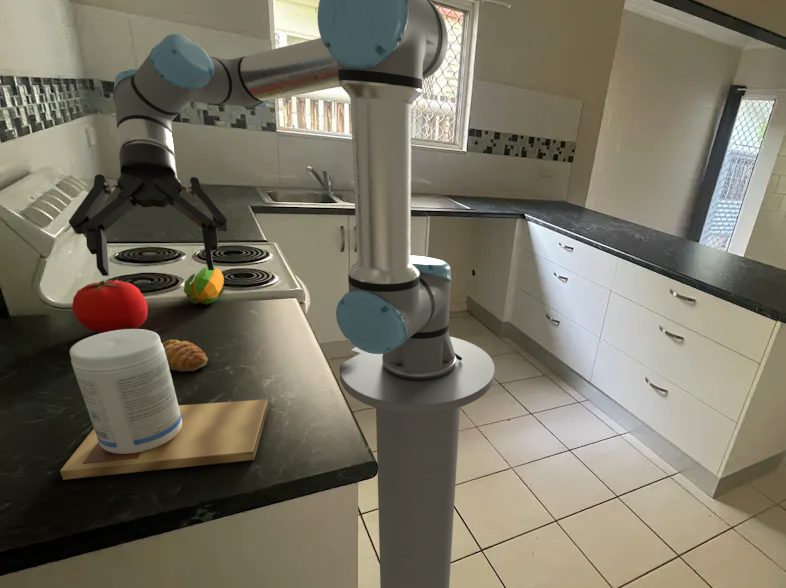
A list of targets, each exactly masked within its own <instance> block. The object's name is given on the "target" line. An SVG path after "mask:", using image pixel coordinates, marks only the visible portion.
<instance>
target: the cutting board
mask: <svg viewBox="0 0 786 588" xmlns="http://www.w3.org/2000/svg"><path fill="white" fill-rule="evenodd" d="M178 406H179V410H180V414H181V418H182V427H181V429H180V431H179V432H178V433H177V434H176V435H175V436H174V437H173V438H172V439H171V440H169V441H168V442H166V443H164V444H162V445H160V446H158V447H156V448H153V449H149V450H146V451H142V452H138V453H132V454H117V453H112V452H108V451H106V450H104V449H103V448H102V447H101V446H100V444H99V441H98V438H97V435H96V432H95V430H94V428H93V429H91V431H90V432H89V434H88V435H87V436H86V437H85V438H84V440H83V441H82V442H81V444H80V445H79V446H78V448H77V449H76V450H75V451H74V452H73V454H72V455H71V456H70V458H69V459H68V460H67V461H66V462H65V464H64V465H63V466H62V467H61V469H60V470H59V472H60V475H61V478H62V480H63V481H65V480H74V479H76V480H77V479H84V478H92V477H93V478H94V477H103V476H112V475H114V476H115V475H121V474H123V475H124V474H132V473H143V472H151V471H160V470H171V469H179V468H189V467H198V466H200V467H201V466H208V465H219V464H227V463H236V462H245V461H247V462H248V461H255V458H256V454H257V452H258V447H259V443H260V439H261V436H262V432H263V429H264V425H265V421H266V417H267V414H268V410H269V407H270V406H269V399H264V398H263V399H251V400H238V401H223V402H208V403H196V404H195V403H193V404H182V405H180V404H178Z"/></svg>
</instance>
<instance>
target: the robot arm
mask: <svg viewBox="0 0 786 588" xmlns="http://www.w3.org/2000/svg"><path fill="white" fill-rule="evenodd" d="M317 27H318V32H319V36H320V37H319V38H314V39H309V40H307V41H302V42H298V43H294V44H290V45H285V46H281V47H277V48H274V49H269V50H265V51H260V52H257V53H256V52H255V53H252V54H249V55H246V56H240V57H235V58H230V59H229V58H227V59H226V58H220V57H215V56H210V55H209V54H208V53H207V52H206V51H205V49H204V48H203V47H202V46H201V45H200V44H198V43H197V42H195V41H194V40H190V39H189V38H188V37H187V36H185V35H183V34H179V33H172V34H167V35H166V36H165V37H164V38H163V39H162V40H161V41H160V42H159V43H158V44H156V45H155V46H154V47H153V48H151V51H150V53H149V54H148V56H147V57H146V59H144V61H143V62H142V64H140V66H138V68H137V69H136V68H135V69H134V68H132V69H128V70H125V71H120V72H118V74H117V75H116V76H115V78H114V81H113V82H114V83H113V90H112V95H113V96H112V97H113V102H114V110H115V119H116V130H117V133H116V135H117V136H116V137H117V148H118V152H119V153H118V158H119V159H118V160H119V172H120V176H119V177H118V178H117V179H114V178H113V179H112V178H106V177H105V176H104V175H103V174H101V173H100V174H96V175H95V176H94V179H93V186H92V187H91V189H90V191H89V192H88V193H87V194H86V196H85V197H84V199H83V200H82V202H81V203H80V204H79V206H78V207H77V208H76V210H75V212H74V213H73V214H72V216H71V217H70V218H69V219H68V224H69V225H70V227H71V229H72V230H73V231H74V233H75V234H77V235H85V238H86V248H87V249H88V251H89V252H90V253H91V255H95V259H96V260H95V261H96V268H97V270H98V272H99V273H100V275H101V276H103V277H108V276H110V270H109V256H108V254H109V253H108V241H107V239H108V238H107V236H106V235H105V232H106V231H108V229H110V228H111V227H112V226H113V225H114V224H116V223H117V222H118V221H119V220H120V219H121V218H123V216H124V215H126V214H127V213H128V212H129V211H133V210H134V209H136V208H137V207H139V206H141V207H142V208H151V207H155V208H156V207H158V208H166V206H170V207H171V208H173V209H174V210H176V211H177V212H178V211H179V212H180V213H181V214H183V215H184V216H185V217H187V218H188V219H189V220H191V221H192V222H193V223H194V224H196V225H197V226H198V227H199V228H201V231H202V238H203V246H204V247H203V248H204V253H205V261H206V267H208V270H214V267H213V266H214V259H213V253H212V251H218V250H219V247H220V246H219V239H218V234H219V233H220V232H227V231H229V224H228V223H229V222H228V219H227V218H226V217H225V215H224V214H223V213H222V212H221V210H220V209H219V208H218V207H217V205H216V204H215V203H214V202H213V200H211V198H210V197H209V196H208V194H206V192H205V191H204V190H203V189H202V187H201V184H200V180H199V178H198V177H196V176H191V177H190V178H189V180H182V181H180V179H179V178H178V172H177V164H176V159H175V158H176V154H175V147H174V138H173V129H172V128H173V127H172V123H173V120H174V119H175V118H176V117H177V116H178V115H179V114H180V113H181V112H183V110H184V109H185V108H186V107H187V106H188V105H189V104H190V103H202V104H211V105H212V104H213V105H226V106H236V107H243V108H248V109H249V108H260V107H264V106H265V105H267V104H268V102H269V101H272V100H279V99H283V98H287V97H293V96H298V95H303V94H308V93H313V92H314V93H315V92H319V91H324V90H330V89H334V88H335V89H336V88H339V87H340V88H342V89H343V91H345V93H346V95H348V97H349V99H350V119H351V120H350V121H351V122H350V123H351V145H352V168H353V169H352V170H353V189H354V191H353V193H354V214H355V216H354V218H355V237H356V238H355V239H356V261H355V263H353V264H352V265H351V266H350V267H349V268H348V270H347V281H348V292H346V293H345V294H344V295H343V296H342V297H341V298H340V300H339V301H338V303H337V306H336V308H335V309H336V310H335V317H336V321H337V325H338V327H339V330H340V331H341V333H342V335H343V336H344V338H346V339H347V340H349V342H350V343H351V345H353V346H354V348H355V347H357V348H359V349H360V350H362V351H365V352H368V353H372V354H383V356H382V359H383V368H384V370H385V371H386V372H387V373H388V374H390V375H392V376H394V377H396V378H399V379H403V380H408V381H430V380H436V379H439V378H442V377H445V376H447V375H448V374H450V373H451V372H452V371H453V370H454V368H455V362H456V358H457V359H458V360H460V361H461V360H462V358H461V357H460V356H459V355H457V354H456V353H455V352H454V349H453V346H452V342H451V339H450V337H451V335H450V332H449V326H450V324H449V323H450V309H451V307H450V306H451V305H450V304H451V286H452V281H453V279H452V272H451V270H452V269H451V266H450V265H449V263H447V262H446V261H444V260H443V259H442V260H441V259H438V258H433V257H427V256H420V255H411V254H412V253H411V251H412V249H411V247H412V246H411V245H412V244H411V243H412V242H411V241H412V236H411V235H412V232H411V231H412V113H413V112H412V111H413V110H412V105H413V103H414V101H416V100H417V99H418V98H419V96H421V95H422V93H423V80H426V79H427V78H429V77H431V76H433V75H434V74H435V73H436V72H437V71H438V70H439V69H440V67H441V66H442V64H443V62H444V61H445V58H446V55H447V53H448V52H447V51H448V46H449V37H448V36H449V35H448V30H447V25H446V21H445V19H444V17H443V15H442V14H441V12H440V10H439V8H438V7H437V5H435V4H434V3H433V2H432V1H431V0H319V1H318V5H317ZM118 189H119V192H118V193H117V196H116V197H115V198H114V199H113V200H112V201H111V202H109V203H108V204H107V205H106V206H105V207H103V206H104V205H105V203H106V202H107V200H108V197H109V195H113V193H114V192H115V190H118ZM183 191H185V192H187V194H189V195H191V196H194V199H195V200H196V202H197V203H198V204H199V205H200V206H201V207H202V209H203V210H204V211H205V212H206V214H207V215H208V216H209V217H208V216H207V215H205V214H204V213H203V212H202V211H200V210H199V208H197V207H195V206H194V205H192V204H191V203H190V202H188V200H186V199H185V198H183V196H182V195H181V193H182V192H183ZM102 207H103V208H102Z"/></svg>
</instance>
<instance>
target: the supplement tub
mask: <svg viewBox="0 0 786 588" xmlns="http://www.w3.org/2000/svg"><path fill="white" fill-rule="evenodd" d="M162 343H163V342H162V341H161V337H160V335H159V334H158V333H157V332H155V331H152V330H149V329H140V328H136V329H124V330H116V331H110V332H105V333H97V334H93V335H91V336H88V337H85V338H83V339H81V340H79V341H77V342H76V343H74V344H73V345H72V346H71V347H70V349H69V356H70V359H71V360H70V363H71V365H72V369H73V371H74V375H75V378H76V381H77V384H78V386H79V390H80V392H81V395H82V398H83V401H84V404H85V407H86V409H87V412H88V415H89V418H90V421H91V424H92V427H93V429H94V430H95V432H96V435H97V438H98V441H99V444H100V446H101V447H102V448H103V449H104V450H106V451H108V452H112V453H117V454H132V453H138V452H142V451H146V450H149V449H153V448H156V447H158V446H160V445H162V444H164V443H166V442H168V441H169V440H171V439H172V438H173V437H174V436H175V435H176V434H177V433H178V432H179V431H180V429H181V427H182V418H181V414H180V410H179V403H178V398H177V394H176V390H175V385H174V382H173V378H172V373H171V369H169V365H168V361H167V357H166V354H165V350H164V347H163V344H162Z"/></svg>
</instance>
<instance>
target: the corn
mask: <svg viewBox="0 0 786 588" xmlns="http://www.w3.org/2000/svg"><path fill="white" fill-rule="evenodd" d="M213 267H214V270H208V266H205V267H203V268H202V269H200V270H199V271H198V272H197V273H193V274H191V275H190V276H189V277H188V278H187V279H186V280H185V282H184V288H183V292H184V294H185V296H186V297H187V299H188V300H189V301H190V302H191V303H193V304H194V305H198V304H203V305H205V306H206V305H209V304H211V303H214V302H216V301H217V300H218V299H219V298H220V296H221V295H222V294H223V293H224V291H225V287H223V286H224V284H225V281H224V280H225V277H224V274H223V273H222V270H221V269H219V268H216V266H214V265H213Z"/></svg>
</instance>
